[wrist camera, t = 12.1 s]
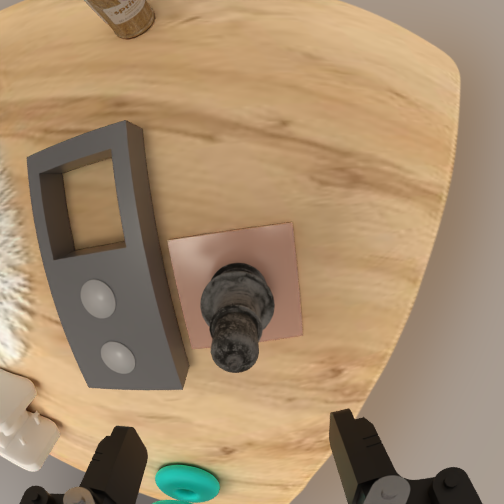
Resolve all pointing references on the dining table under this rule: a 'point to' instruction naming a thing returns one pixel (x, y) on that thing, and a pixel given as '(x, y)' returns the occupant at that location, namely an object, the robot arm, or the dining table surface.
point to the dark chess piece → (236, 315)
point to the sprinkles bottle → (124, 15)
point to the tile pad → (239, 251)
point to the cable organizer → (23, 424)
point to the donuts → (186, 484)
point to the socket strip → (109, 268)
